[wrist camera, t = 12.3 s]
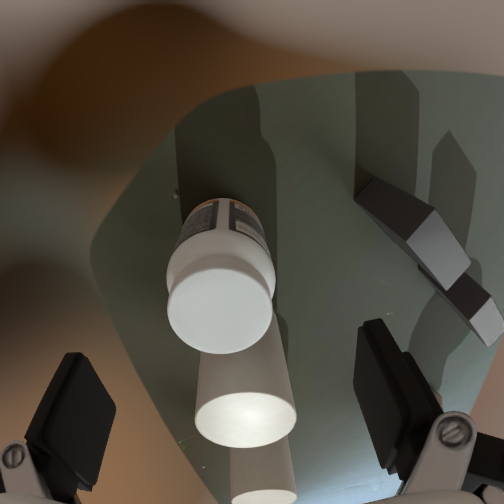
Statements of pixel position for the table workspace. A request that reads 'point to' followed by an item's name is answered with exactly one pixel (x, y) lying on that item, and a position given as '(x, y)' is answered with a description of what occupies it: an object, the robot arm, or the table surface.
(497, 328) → the dark grey rectangular block
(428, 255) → the dark grey block
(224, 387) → the white cylinder
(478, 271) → the table surface
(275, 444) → the white cylinder
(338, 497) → the table surface
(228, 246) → the pill bottle
